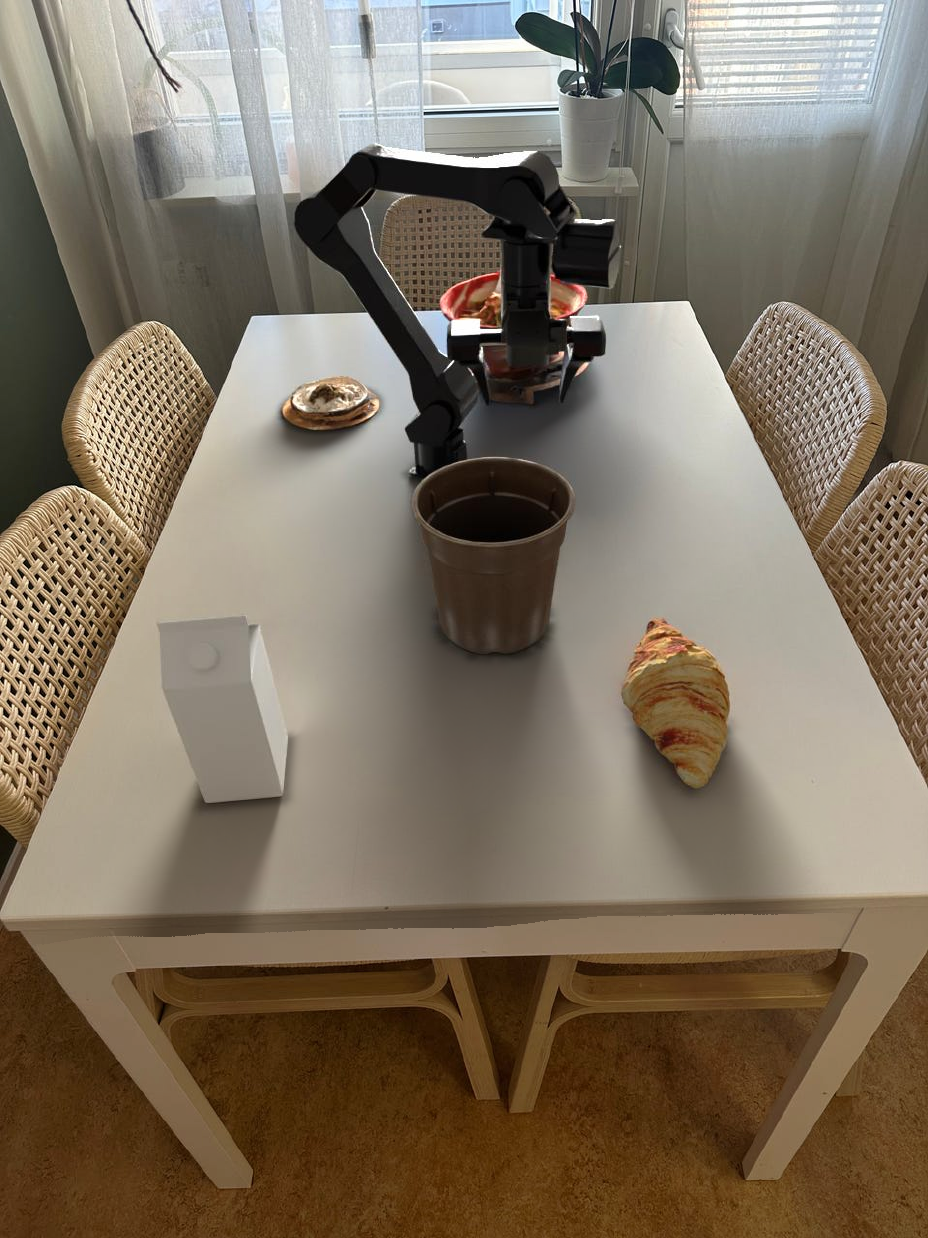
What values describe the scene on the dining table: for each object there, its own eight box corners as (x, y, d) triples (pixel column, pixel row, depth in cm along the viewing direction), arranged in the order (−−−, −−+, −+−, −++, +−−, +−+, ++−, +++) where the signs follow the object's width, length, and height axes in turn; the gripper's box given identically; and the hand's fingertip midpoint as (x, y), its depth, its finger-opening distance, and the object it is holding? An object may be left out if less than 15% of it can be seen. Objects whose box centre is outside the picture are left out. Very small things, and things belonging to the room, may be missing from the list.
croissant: (722, 818, 80) (779, 769, 76) (630, 792, 77) (684, 738, 72) (673, 656, 96) (718, 607, 91) (596, 629, 93) (637, 576, 88)
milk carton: (215, 745, 85) (164, 594, 72) (288, 738, 85) (250, 587, 73) (205, 804, 79) (147, 653, 67) (283, 797, 80) (241, 645, 67)
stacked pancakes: (370, 379, 143) (368, 355, 141) (386, 422, 132) (384, 397, 130) (280, 392, 141) (276, 368, 138) (288, 437, 130) (284, 411, 127)
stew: (457, 329, 158) (453, 236, 147) (591, 332, 154) (597, 237, 144) (431, 402, 137) (424, 300, 126) (585, 407, 134) (592, 303, 123)
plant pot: (477, 558, 106) (473, 440, 95) (594, 604, 99) (604, 482, 88) (393, 633, 96) (378, 511, 86) (516, 691, 89) (517, 565, 78)
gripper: (442, 308, 94) (449, 437, 104) (616, 302, 94) (606, 433, 104) (445, 271, 102) (451, 394, 113) (604, 266, 102) (596, 389, 112)
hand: (524, 403), depth 110 cm, fingers open, 9 cm apart
